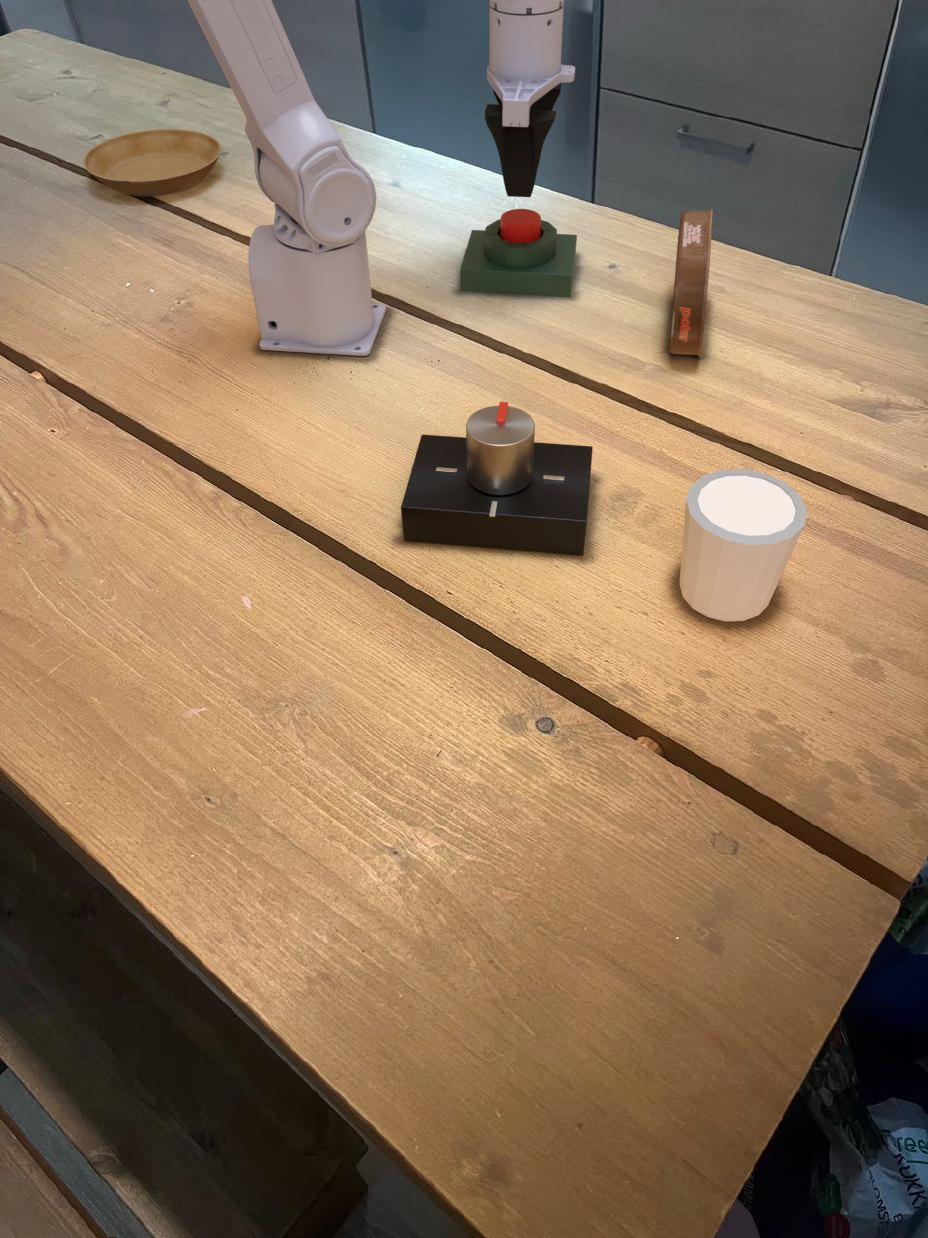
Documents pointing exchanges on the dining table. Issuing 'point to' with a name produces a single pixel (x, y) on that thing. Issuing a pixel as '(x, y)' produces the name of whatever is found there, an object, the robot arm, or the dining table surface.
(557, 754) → the dining table surface
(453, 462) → the panel
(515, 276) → the button box
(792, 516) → the white cylinder
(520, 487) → the knob
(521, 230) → the button
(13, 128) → the dining table surface
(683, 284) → the brown rectangular box
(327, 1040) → the dining table surface
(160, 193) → the plant saucer
